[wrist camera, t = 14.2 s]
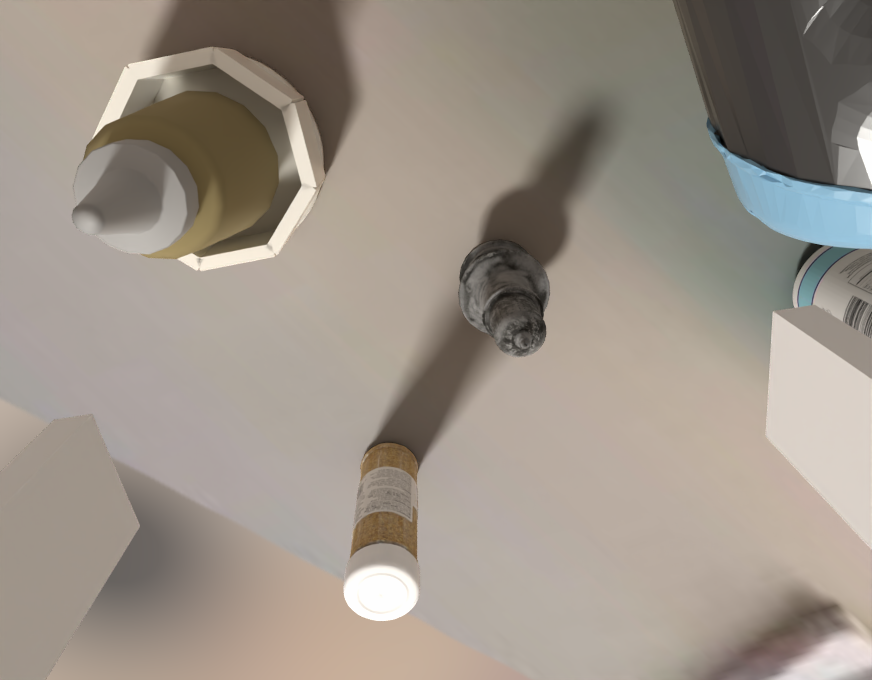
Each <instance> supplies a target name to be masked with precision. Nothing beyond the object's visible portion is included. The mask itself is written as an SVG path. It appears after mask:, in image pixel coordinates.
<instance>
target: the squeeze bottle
mask: <svg viewBox="0 0 872 680" xmlns="http://www.w3.org/2000/svg"><path fill="white" fill-rule="evenodd" d="M278 185H279V171H278V155H277V152H276V150H275V148H274V145H273V143H272V141H271V139H270V136H269V134H268V132H267V130H266V127H265V126H264V125H263V124H262V123H261V122H260V121H259V120H258V119H257V118H256V117H255V116H254V115H253V114H252V113H251V112H250V111H249V110H248V109H247V108H246V107H245V106H244V105H242V104H240V103H238V102H236V101H234V100H232V99H230V98H228V97H226V96H223V95H221V94H219V93H217V92H205V91H184V92H182V93H179V94H177V95H174V96H172V97H169V98H167V99H164V100H162V101H160V102H157V103H155V104H153V105H150V106H148V107H146V108H143V109H141V110H139V111H136V112H134V113H132V114H129V115H127V116H125V117H122V118H120V119H118V120H115V121H113V122H111V123H109V124H106V125H104V127H103V128H102V129H101V130H100V131H99V132H98V133H97V135H96V136H95V137H94V138H93V139H92V140H91V141H90V143H89V144H88V145H87V147H86V151H85V155H84V159H83V161H82V162H81V164H80V165H79V166H78V169H77V173H76V177H75V181H74V185H73V190H74V196H75V202H76V207H75V209H74V210H73V213H72V220H73V223H74V225H75V227H76V228H77V229H78V230H79V231H80V232H82V233H84V234H86V235H96V236H97V237H98V238H99V239H100V240H101V241H103V242H104V243H105V244H106V245H108V246H110V247H113V248H115V249H118V250H120V251H123V252H125V253H127V254H141V255H143V256H146V257H148V258H164V259H178V258H180V257H183V256H186V255H189V254H191V253H194V252H197V251H199V250H202V249H204V248H206V247H208V246H210V245H213V244H215V243H217V242H219V241H221V240H223V239H225V238H228V237H230V236H232V235H234V234H236V233H238V232H241V231H243V230H245V229H247V228H249V227H251V226H252V225H253V224H254V223H255V222H256V221H257V220H258V219H259V218H260V217H261V216H262V215H263V214H265V213H266V212H267V211H268V210H269V209H270V206H271V204H272V201H273V198H274V196H275V193H276V190H277V188H278Z"/></svg>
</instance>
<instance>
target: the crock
mask: <svg viewBox="0 0 872 680" xmlns="http://www.w3.org/2000/svg"><path fill="white" fill-rule="evenodd" d="M128 66H129V67H126V66H125V68H124V70H123V72H122V75H121V77H120V79H119V81H118V83H117V85H116V88H115V90H114V92H113V94H112V96H111V99H110V101H109V103H108V105H107V107H106V110H105V112H104V114H103V116H102V118H101V120H100V123H99V125H98V127H97V129H96V131H95V134H94V136H93V138H94V137H95V136H96V135H97V133H98V132H99V131H100V130H101V129H102V128H103V127H104V125H106V124H109V123H111V122H113V121H115V120H118V119H120V118H122V117H125V116H127V115H129V114H132V113H134V112H136V111H139V110H141V109H143V108H146V107H148V106H150V105H153V104H155V103H157V102H160V101H162V100H164V99H167V98H169V97H172V96H174V95H177V94H179V93H182V92H184V91H205V92H217V93H219V94H221V95H223V96H226V97H228V98H230V99H232V100H234V101H236V102H238V103H240V104H242V105H244V106H245V107H246V108H247V109H248V110H249V111H250V112H251V113H252V114H253V115H254V116H255V117H256V118H257V119H258V120H259V121H260V122H261V123H262V124H263V125H264V126H265V127H266V130H267V132H268V134H269V136H270V139H271V141H272V143H273V145H274V148H275V150H276V152H277V155H278V171H279V185H278V188H277V190H276V193H275V196H274V198H273V201H272V204H271V206H270V209H269V210H268V211H267V212H266V213H265V214H263V215H262V216H261V217H260V218H259V219H258V220H257V221H256V222H255V223H254V224H253V225H252V226H251V227H249V228H247V229H245V230H243V231H241V232H238V233H236V234H234V235H232V236H230V237H228V238H225V239H223V240H221V241H219V242H217V243H215V244H213V245H210V246H208V247H206V248H204V249H202V250H199V251H197V252H194V253H191V254H189V255H186V256H183V257H180V258H178V260H180V261H182V262H183V263H185V264H187V265H188V266H190V267H192V268H194V269H195V270H199V269H200V271H204V270H209V269H215V268H220V267H225V266H230V265H235V264H240V263H245V262H250V261H255V260H260V259H265V258H271V257H275V256H276V254H277V255H278V253H279V252H280V251H281V249H282V248H283V247H284V245H285V244H286V243H287V241H288V240H289V239H290V237H291V235H292V234H293V232H294V230H295V229H296V228H297V227H298V226H299V225H300V223H301V222H302V221H303V220H304V219H305V217H306V216H307V215H308V213H309V212H310V210H311V209H312V207H313V205H314V203H315V201H316V199H317V197H318V194H319V191H320V188H321V185H322V184H323V182H324V180H325V179H324V178H325V172H324V152H323V145H322V140H321V136H320V132H319V129H318V126H317V123H316V121H315V119H314V117H313V115H312V112H311V111H310V109H309V107H308V105H307V101H306V100H304V99H303V98H304V97H303V96H302V95H301V94H299V93H298V92H297V91H296V89H295V88H294V87H293V86H292V85H291V84H290V83H289V82H288V81H287V80H286V79H284V78H283V77H282V76H281V75H279V74H278V73H277V72H276V71H274V70H272V69H271V68H269V67H267V66H266V65H264V64H262V63H260V62H258V61H256V60H253V59H251V58H248V57H245V56H244V55H242V54H241V53H239V52H238V51H236V50H233V49H228V48H219V47H207V48H203V49H198V50H193V51H188V52H184V53H179V54H174V55H170V56H165V57H160V58H155V59H151V60H146V61H141V62H137V63H132V64H128ZM93 138H92V139H93Z"/></svg>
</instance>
